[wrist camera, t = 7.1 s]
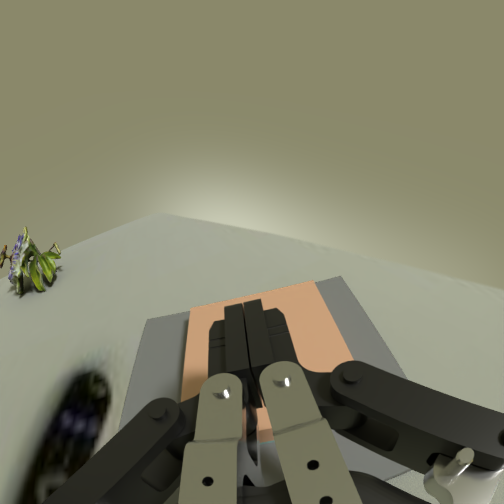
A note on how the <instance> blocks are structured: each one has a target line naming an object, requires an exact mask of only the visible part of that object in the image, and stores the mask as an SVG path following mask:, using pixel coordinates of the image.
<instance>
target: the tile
mask: <svg viewBox="0 0 504 504" xmlns="http://www.w3.org/2000/svg"><path fill="white" fill-rule="evenodd" d="M260 298H261V301H262V305H263V310H268V309H272V308H278V309H279V310H280V311H281V312H282V313H283V314H284V316H285V319H286V322H287V326H288V329H289V333H290V335H291V339H292V342H293V345H294V349H295V352H296V355H297V359H298V361H299V363H300V364H301V365H302V366H303V367H304V368H306V369H308V370H310V371H314V372H332V371H333V369H334V368H335V367H336V366H338V365H339V364H341V363H343V362H346V361H352V360H354V359H353V357H352V355H351V353H350V351H349V349H348V347H347V345H346V343H345V341H344V339H343V337H342V335H341V333H340V331H339V329H338V327H337V325H336V323H335V321H334V319H333V317H332V315H331V313H330V312H329V310H328V308H327V306H326V304H325V302H324V300H323V298H322V296H321V294H320V292H319V290H318V289H317V287H316V285H315V283H314V281H313V280H312V281H308V282H304V283H300V284H295V285H291V286H287V287H283V288H279V289H275V290H270V291H266V292H262V293H258V294H253V295H249V296H244V297H240V298H235V299H231V300H226V301H222V302H217V303H212V304H208V305H203V306H198V307H193V308H191V309H190V317H189V325H188V334H187V343H186V352H185V362H184V372H183V383H182V394H181V402H183V401H185V400H188V399H190V398H192V397H194V396H196V395H197V394H199V393H200V389H201V387H202V385H203V383H204V382H205V381H206V380H207V379H208V350H209V348H208V343H209V330H210V328H211V326H212V324H213V322H214V321H218V320H223V319H224V307H225V306H229V305H234V304H238V303H242V304H243V302H247V301H251V300H256V299H260ZM243 307H244V306H243ZM261 398H262V397H261ZM262 405H263V408H258V409H256V410H257V417H258V425H259V440H260V444H265V443H271V442H275V441H274V437H273V431H272V427H271V423H270V420H269V416H268V412H267V409H266V407H265V406H264V403H263V400H262Z"/></svg>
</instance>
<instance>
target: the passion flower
mask: <svg viewBox="0 0 504 504" xmlns="http://www.w3.org/2000/svg"><path fill="white" fill-rule="evenodd" d="M54 246H55V248H56V249H57V252H58V254H59V255H60V254H61V251H60V250H59V247H58V245H57V242H55V243H54V244H53V246H52V247H51V249H52V248H53V247H54ZM51 249H50V250H51ZM6 250H7V245H4V248H3V251H2V253H1V258H0V268H2V266H3V263H4V260H5V259H6V258H9V259H10V263H11V268H10V272H9V278H8V279H9V280H10V282H11V283H12V284H13V285H16V286H17V293H19V294H22V293H23V291H24V287H23V272H24V274H25V275H26V276H27V277H30V276H29V273H28V262H31V263H30V264H29V272H30V275H31V278H32V280H33V282H34V284H35V286H36V287H37V289H38V290H39V291H44V292H45V291H46V289H45V287H44V285H43V278H42V274H41V273H40V270H39V267H38V262H39V264H40V265H41V267H42V269H43V273H44V274H45V276H46V278H47V279H48V281H49V282H50V283H51V281H52V278H53V274H55V271H56V265H55V262H54V260H52V259H60V258H61V257H60V256H59V255H58V254H56V253H54V252H51V251H50V250H49V251H48V252H44V253H43V254H41V253H40V252H39V250H38V249H37V247H36V246H35V244H34V243H33V241H32V240H31V239H30V237H29V236H28V235H27V227H24V228H23V236H20V235H19V237H18V240H17V243H16V245H15V247H14V249H13V250H12V251H13V253H12V255H11V256H8V255H6ZM31 256H34V257H33V260H29V258H30V257H31ZM56 272H57V271H56Z"/></svg>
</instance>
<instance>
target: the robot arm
mask: <svg viewBox="0 0 504 504" xmlns="http://www.w3.org/2000/svg"><path fill="white" fill-rule="evenodd" d="M243 306H244V307H243ZM208 348H209V350H208V379H207V380H206V381H205V382H204V383H203V385H202V387H201V389H200V393H199V394H197V395H196V396H194V397H192V398H190V399H188V400H185V401H183V402H180V403H178V404H177V403H176V402H175V401H174V400H173V399H170V398H165V397H163V398H157V399H154V400H152V401H150V402H149V403H148V404H147V405H146V406H145V407H143V408H142V409H141V410H140V411H139V412H138V413H137V414H136V415H135V416H134V417H133V418H132V419H131V420H130V421H129V422H128V423H127V424H126V425H125V426H124V427H123V428H122V429H121V430H120V431H119V432H118V433H117V434H116V435H115V436H114V437H113V438H112V439H111V440H110V441H109V442H108V443H107V444H106V445H104V446H103V447H102V448H101V449H100V450H99V451H98V452H97V453H96V454H95V455H94V456H93V457H92V458H91V459H90V460H89V461H88V462H87V463H85V464H84V465H83V466H82V467H81V468H80V469H79V470H78V471H77V472H76V473H75V474H74V475H73V476H71V477H70V478H69V479H68V480H67V481H66V482H65V483H64V484H63V485H62V486H60V487H59V488H58V489H57V490H56V491H55V492H54V493H53V494H52V495H50V496H49V497H48V498H47V499H46V500H45V501H44V502H43V503H42V504H163V503H164V502H165V501H166V500H167V499H168V498H169V497H170V496H171V495H172V494H173V493H174V492H175V491H176V490H177V488H178V487H179V486H180V491H179V501H178V503H177V504H431V503H429V502H426V501H424V500H422V499H420V498H418V497H415V496H413V495H411V494H409V493H407V492H405V491H403V490H401V489H399V488H397V487H395V486H393V485H391V484H389V483H387V482H385V481H383V480H381V479H379V478H377V477H375V476H373V475H370V474H367V473H363V472H359V471H351V470H348V468H347V466H346V463H345V461H344V459H343V456H342V454H341V452H340V449H339V447H338V445H337V442H336V440H335V437H334V435H333V433H332V430H331V429H333V430H334V431H335V432H336V433H338V434H340V435H341V436H343V437H345V438H347V439H349V440H351V441H353V442H355V443H357V444H359V445H361V446H363V447H365V448H367V449H369V450H371V451H373V452H375V453H377V454H379V455H381V456H383V457H385V458H387V459H389V460H392V461H394V462H396V463H398V464H400V465H403V466H405V467H407V468H410V469H412V470H414V471H417V472H419V473H422V474H424V475H425V476H424V488H425V490H426V491H427V493H428V494H430V495H431V496H433V497H435V498H436V499H437V500H438V501H439V503H440V504H489V503H490V501H491V499H492V497H493V495H494V493H495V491H496V488H497V486H498V484H499V481H500V479H501V476H502V474H503V471H504V413H500V412H497V411H494V410H491V409H488V408H485V407H482V406H479V405H476V404H473V403H470V402H467V401H464V400H461V399H458V398H455V397H452V396H450V395H447V394H444V393H441V392H439V391H436V390H433V389H430V388H428V387H425V386H422V385H420V384H417V383H415V382H412V381H409V380H407V379H404V378H402V377H399V376H397V375H394V374H392V373H389V372H387V371H384V370H382V369H379V368H377V367H374V366H372V365H369V364H367V363H365V362H362V361H356V360H352V361H346V362H343V363H341V364H339V365H338V366H336V367H335V368H334V369H333V371H332V372H314V371H310V370H308V369H306V368H304V367H303V366H302V365H301V364H300V363H299V361H298V359H297V355H296V352H295V349H294V345H293V342H292V339H291V335H290V333H289V329H288V326H287V322H286V319H285V316H284V314H283V313H282V312H281V311H280V310H279V309H278V308H272V309H268V310H263V305H262V301H261V298H260V299H256V300H251V301H247V302H243V304H242V303H238V304H234V305H229V306H225V307H224V319H223V320H218V321H214V322H213V324H212V326H211V328H210V330H209V343H208ZM261 397H262V398H261ZM262 400H263V403H264V406H265V407H266V409H267V412H268V416H269V420H270V423H271V427H272V431H273V437H274V441H275V445H276V449H277V452H278V456H279V460H280V463H281V467H282V470H283V474H284V477H285V480H282V481H280V482H278V483H275V484H273V485H270V486H267V487H264V481H263V477H262V473H261V463H260V440H259V425H258V417H257V410H256V409H258V408H263V405H262Z"/></svg>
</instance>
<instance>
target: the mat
mask: <svg viewBox="0 0 504 504" xmlns="http://www.w3.org/2000/svg"><path fill="white" fill-rule="evenodd" d="M315 285H316V287H317V289H318V290H319V292H320V294H321V296H322V298H323V300H324V302H325V304H326V306H327V308H328V310H329V312H330V313H331V315H332V317H333V319H334V321H335V323H336V325H337V327H338V329H339V331H340V333H341V335H342V337H343V339H344V341H345V343H346V345H347V347H348V349H349V351H350V353H351V355H352V357H353V359H354V360H356V361H362V362H365V363H367V364H369V365H372V366H374V367H377V368H379V369H382V370H384V371H387V372H389V373H392V374H394V375H397V376H399V377H402V378H404V379H407V377H406V376H405V374H404V372H403V371H402V369H401V368H400V366H399V364H398V363H397V361H396V359H395V358H394V356H393V355H392V353H391V351H390V350H389V348H388V347H387V345H386V343H385V342H384V340H383V339H382V337H381V336H380V334H379V332H378V331H377V329H376V328H375V326H374V325H373V323H372V322H371V320H370V319H369V317H368V315H367V314H366V312H365V311H364V309H363V308H362V306H361V305H360V303H359V302H358V300H357V299H356V297H355V296H354V294H353V293H352V292H351V290H350V289H349V287H348V286H347V284H346V283H345V281H344V280H343V278H342V277H341V276H338V277H335V278H331V279H327V280H323V281H319V282H315ZM189 317H190V311H188V312H183V313H178V314H173V315H168V316H162V317H157V318H152V319H147V321H146V325H145V328H144V332H143V335H142V338H141V342H140V346H139V349H138V353H137V356H136V360H135V364H134V368H133V371H132V375H131V379H130V383H129V387H128V391H127V395H126V400H125V404H124V408H123V412H122V417H121V422H120V426H119V431H120V430H121V429H122V428H123V427H124V426H125V425H126V424H127V423H128V422H129V421H130V420H131V419H132V418H133V417H134V416H135V415H136V414H137V413H138V412H139V411H140V410H141V409H142V408H143V407H145V406H146V405H147V404H148V403H149V402H150V401H152V400H154V399H157V398H163V397H165V398H170V399H173V400H174V401H175V402H176V403H177V404H178V403H180V402H181V394H182V383H183V372H184V362H185V352H186V343H187V334H188V325H189ZM407 380H408V379H407ZM331 430H332V433H333V435H334V437H335V440H336V442H337V445H338V447H339V449H340V452H341V454H342V456H343V459H344V461H345V463H346V466H347V468H348V470H351V471H359V472H363V473H367V474H370V475H373V476H375V477H377V478H379V479H381V480H383V481H387V480H389V479H392V478H394V477H397V476H399V475H401V474H404V473H406V472H408V471H410V470H412V469H410V468H407V467H405V466H403V465H400V464H398V463H396V462H394V461H392V460H389V459H387V458H385V457H383V456H381V455H379V454H377V453H375V452H373V451H371V450H369V449H367V448H365V447H363V446H361V445H359V444H357V443H355V442H353V441H351V440H349V439H347V438H345V437H343V436H341V435H340V434H338V433H336V432H335V431H334V430H333V429H331ZM119 431H118V432H119ZM260 463H261V473H262V477H263V481H264V487H267V486H270V485H273V484H275V483H278V482H280V481H282V480H285V477H284V474H283V470H282V467H281V463H280V460H279V456H278V452H277V449H276V445H275V442H271V443H265V444H260ZM179 491H180V486H179V487H178V488H177V490H176V491H175V492H174V493H173V494H172V495H171V496H170V497H169V498H168V499H167V500H166V501H165V502H164V503H163V504H177V503H178V501H179Z"/></svg>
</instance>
